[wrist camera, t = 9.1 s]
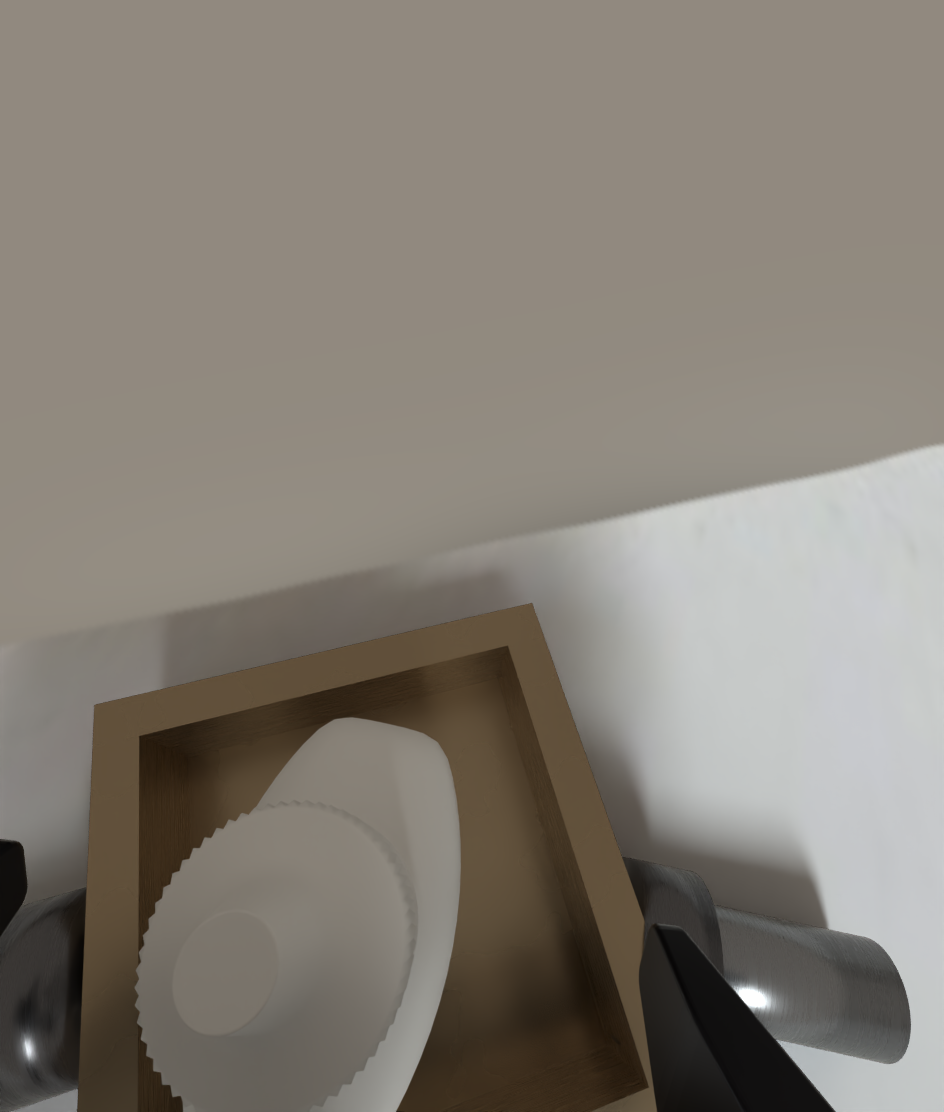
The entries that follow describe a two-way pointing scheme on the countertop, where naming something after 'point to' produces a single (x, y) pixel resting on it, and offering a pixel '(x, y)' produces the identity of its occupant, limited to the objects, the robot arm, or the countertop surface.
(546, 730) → the square brown wooden tray
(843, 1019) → the output shaft
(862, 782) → the countertop surface
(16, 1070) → the input shaft
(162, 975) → the white bottle
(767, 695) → the countertop surface
